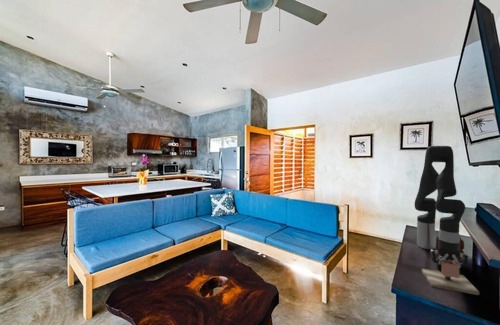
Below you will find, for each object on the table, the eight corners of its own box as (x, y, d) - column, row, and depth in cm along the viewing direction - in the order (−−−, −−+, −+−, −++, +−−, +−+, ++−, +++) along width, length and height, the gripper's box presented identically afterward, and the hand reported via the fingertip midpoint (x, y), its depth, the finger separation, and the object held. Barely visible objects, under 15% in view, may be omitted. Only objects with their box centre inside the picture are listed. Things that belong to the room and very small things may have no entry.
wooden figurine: (456, 260, 124) (457, 230, 123) (465, 266, 118) (466, 235, 117) (433, 258, 127) (433, 229, 126) (440, 264, 121) (441, 233, 120)
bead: (437, 269, 109) (438, 257, 108) (453, 271, 106) (453, 259, 106) (442, 275, 103) (443, 263, 103) (459, 278, 101) (459, 266, 100)
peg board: (421, 271, 115) (422, 254, 114) (462, 277, 108) (463, 259, 107) (431, 286, 102) (432, 267, 101) (479, 295, 95) (479, 274, 95)
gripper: (464, 238, 104) (463, 271, 105) (427, 234, 110) (427, 265, 111) (472, 244, 97) (471, 279, 98) (433, 240, 103) (432, 273, 104)
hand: (447, 272), depth 105 cm, fingers closed on bead, 6 cm apart
